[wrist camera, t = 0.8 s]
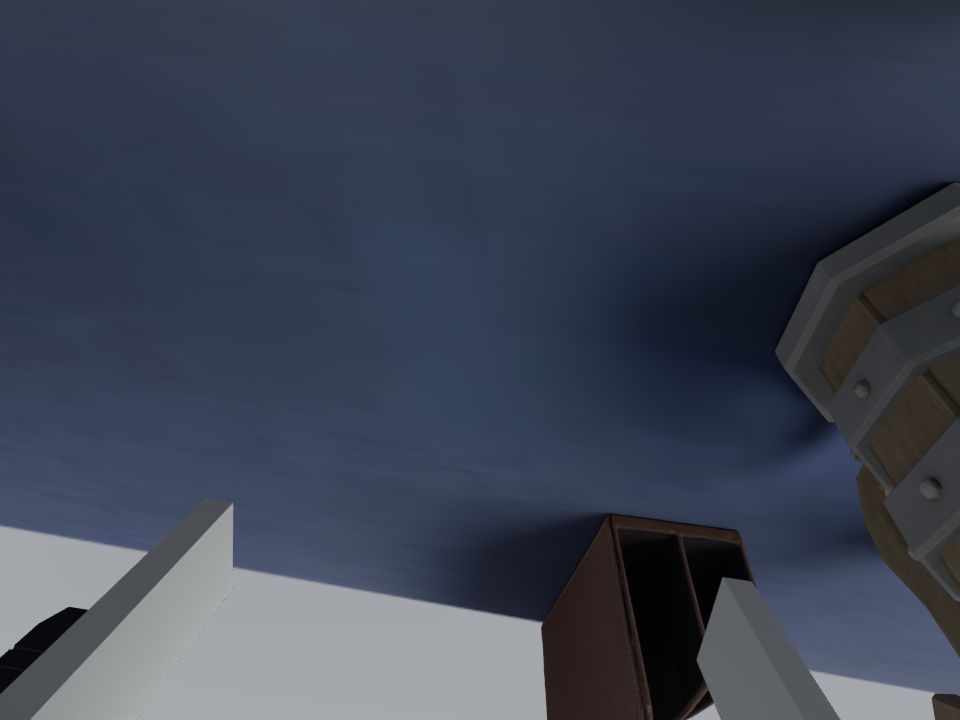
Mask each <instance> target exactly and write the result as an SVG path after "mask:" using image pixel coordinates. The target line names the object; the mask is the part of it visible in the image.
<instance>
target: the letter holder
mask: <svg viewBox="0 0 960 720" xmlns="http://www.w3.org/2000/svg"><path fill="white" fill-rule="evenodd" d="M723 577H724V578H731V579H737V580H744V581H751V582H752V583H753V584H754V586H755V588H756V585H755V582H754V578H753V575H752V572H751V568H750V566H749V563H748V559H747V556H746V553H745V550H744V547H743V543H742V539H741V536H740V534H739V532H738V531H736V530H727V529H720V528H711V527H705V526H697V525H691V524H683V523H675V522H669V521H660V520H654V519H646V518H638V517H631V516H623V515H615V514H608V515H607V516H606V518H605V520H604V521H603V524H602V525H601V527H600V529H599V531H598V533H597V534H596V536H595V538H594V540H593V541H592V543H591V545H590V546H589V548H588V550H587V552H586V553H585V554H584V556H583V558H582V559H581V561H580V563H579V564H578V566H577V567H576V569H575V571H574V572H573V574H572V576H571V577H570V579H569V581H568V582H567V584H566V586H565V587H564V589H563V591H562V592H561V594H560V596H559V598H558V599H557V601H556V603H555V604H554V606H553V608H552V609H551V611H550V613H549V614H548V616H547V618H546V619H545V621H544V623H543V624H542V627H541V631H542V642H543V656H544V676H545V690H546V706H547V720H687V719H689V718H691V717H693V716H695V715H696V714H698V713H700V712H701V711H703V710H704V709H706V708H708V707H709V706H711V705H712V704H713V703H714V701H713V699H712V696H711V694H710V692H709V689H708V687H707V684H706V682H705V679H704V677H703V675H702V672H701V670H700V667H699V665H698V662H697V657H698V654H699V651H700V648H701V645H702V642H703V638H704V635H705V632H706V629H707V626H708V622H709V619H710V616H711V613H712V610H713V607H714V603H715V600H716V597H717V594H718V591H719V587H720V584H721V581H722V578H723ZM756 589H757V588H756Z"/></svg>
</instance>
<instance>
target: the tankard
mask: <svg viewBox="0 0 960 720" xmlns="http://www.w3.org/2000/svg"><path fill="white" fill-rule="evenodd" d="M775 353H776V355H777V357H778V359H779V360H780V362H781V364H782V366H783V368H784V369H785V370H786V372H787V373H788V374H789V375H790V376H791V378H792V379H793V380H794V381H795V382H796V384H797V385H798V386H799V387H800V388H801V390H802V391H803V392H804V393H805V394H806V396H807V397H808V398H809V399H810V400H811V402H812V403H813V404H814V405H815V406H816V408H817V409H818V410H819V411H820V412H821V414H822V415H823V416H824V417H825V418H826V420H827V421H828V422H834V423H836V425H837V427H838V428H839V430H840V432H841V433H842V435H843V437H844V438H845V440H846V442H847V443H848V445H849V446H850V447H851V448H852V449H851V451H850V454H851V457H852V458H853V459H854V460H855V461H858V462H863V463H864V464H863V466H862V468H861V470H860V472H859V474H858V476H857V478H856V480H857V485H858V490H859V495H860V500H861V505H862V510H863V516H864V521H865V525H866V527H867V529H868V531H869V533H870V535H871V537H872V539H873V541H874V543H875V545H876V547H877V549H878V551H879V552H880V554H881V556H882V558H883V560H884V562H885V563H886V564H887V565H888V566H889V568H890V569H891V570H892V571H893V572H894V573H895V574H896V575H897V576H898V577H899V578H900V579H901V580H902V582H903V583H904V584H905V585H906V586H907V587H908V588H909V589H910V590H911V591H912V592H913V593H914V594H915V596H916V597H917V598H918V599H919V600H920V601H921V602H922V603H923V604H924V605H925V606H926V607H927V609H928V610H929V612H930V613H931V615H932V616H933V618H934V619H935V621H936V622H937V624H938V625H939V627H940V628H941V630H942V631H943V633H944V634H945V636H946V637H947V639H948V640H949V642H950V644H951V645H952V647H953V648H954V650H955V651H956V653H957V654H958V656H959V657H960V183H952V184H951V185H949V186H947V187H946V188H944V189H942V190H940V191H939V192H937V193H935V194H934V195H932V196H930V197H928V198H927V199H925V200H923V201H922V202H920V203H918V204H917V205H915V206H913V207H911V208H910V209H908V210H906V211H905V212H903V213H901V214H899V215H898V216H896V217H894V218H893V219H891V220H889V221H887V222H886V223H884V224H882V225H881V226H879V227H877V228H875V229H874V230H872V231H870V232H869V233H867V234H865V235H864V236H862V237H860V238H858V239H857V240H855V241H853V242H852V243H850V244H848V245H846V246H845V247H843V248H841V249H840V250H838V251H836V252H834V253H833V254H831V255H829V256H828V257H826V258H824V259H823V260H821V261H819V262H818V263H817V265H816V267H815V269H814V271H813V273H812V276H811V278H810V280H809V282H808V284H807V286H806V288H805V290H804V292H803V294H802V296H801V298H800V300H799V302H798V304H797V306H796V309H795V311H794V313H793V315H792V317H791V319H790V321H789V323H788V325H787V327H786V329H785V331H784V333H783V335H782V337H781V339H780V342H779V344H778V346H777V348H776V350H775ZM932 703H933V709H934V715H935V720H960V696H958V695H956V694H936V693H935V695H934V696H933V697H932Z"/></svg>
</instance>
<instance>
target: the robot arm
mask: <svg viewBox="0 0 960 720" xmlns="http://www.w3.org/2000/svg"><path fill="white" fill-rule="evenodd" d="M232 580H233V503H230V502H224V501H217V500H210V499H204V500H203V501H202V502H201V503H200V504H199V505H198V506H197V507H196V508H195V509H194V510H193V511H191V512H190V513H189V514H188V515H187V516H186V517H185V518H184V519H183V520H182V521H181V522H180V523H179V524H178V525H177V526H176V527H175V528H174V529H173V530H172V531H171V532H169V533H168V534H167V535H166V536H165V537H164V538H163V539H162V540H161V541H160V542H159V543H158V544H157V545H156V546H155V547H154V548H153V549H152V550H151V551H150V552H149V553H148V554H146V555H145V556H144V557H143V559H142V560H140V561H139V562H138V563H137V564H136V565H135V566H134V567H133V568H132V569H131V570H130V571H129V572H128V573H127V574H126V575H125V576H124V577H122V578H121V579H120V580H119V581H118V582H117V583H116V584H115V585H114V586H113V587H112V588H111V589H110V590H109V591H108V592H107V593H106V594H105V595H104V596H103V597H102V598H100V599H99V600H98V601H97V602H96V603H95V604H94V605H93V606H92V607H91V608H90V609H89V610H86V609H79V608H73V607H68V608H66V609H64V610H62V611H61V612H59V613H57V614H55V615H53V616H52V617H50V618H48V619H46V620H44V621H43V622H41V623H39V624H38V625H37V626H35V627H34V628H33V629H32V630H31V631H30V632H29V633H28V634H27V635H25V636H24V637H23V638H22V639H21V640H20V641H19V642H17V643H16V644H15V645H14V648H13V649H12V650H10V649H9V650H8V651H7V652H6V653H5V654H4V655H3V656H2V657H0V720H137V719H138V718H139V717H140V715H141V714H142V712H143V711H144V710H145V708H146V707H147V705H148V704H149V703H150V701H151V700H152V699H153V697H154V696H155V694H156V693H157V691H158V690H159V689H160V688H161V686H162V685H163V683H164V682H165V681H166V679H167V678H168V677H169V675H170V674H171V673H172V671H173V670H174V668H175V667H176V666H177V664H178V663H179V661H180V660H181V659H182V657H183V656H184V655H185V653H186V652H187V651H188V649H189V648H190V646H191V645H192V644H193V642H194V641H195V640H196V638H197V637H198V635H199V634H200V633H201V631H202V630H203V629H204V627H205V626H206V624H207V623H208V622H209V620H210V619H211V618H212V616H213V614H214V613H215V612H216V611H217V609H218V608H219V606H220V605H221V604H222V602H223V601H224V600H225V598H226V597H227V596H228V594H229V593H230V591H231V590H232V587H233V586H232V585H233V581H232ZM697 662H698V665H699V667H700V670H701V672H702V675H703V677H704V679H705V682H706V684H707V687H708V689H709V692H710V694H711V696H712V699H713V701H714V704H715V706H716V708H717V711H718V714H719V716H720V718H721V720H840V718H839V717H838V715H837V714H836V712H835V711H834V709H833V707H832V706H831V704H830V703H829V701H828V700H827V698H826V697H825V695H824V693H823V692H822V690H821V689H820V687H819V686H818V684H817V683H816V681H815V680H814V678H813V676H812V675H811V673H810V672H809V670H808V669H807V667H806V665H805V664H804V662H803V661H802V659H801V658H800V656H799V655H798V653H797V651H796V650H795V648H794V647H793V645H792V644H791V642H790V641H789V639H788V637H787V636H786V634H785V633H784V631H783V630H782V628H781V627H780V625H779V623H778V622H777V620H776V619H775V617H774V616H773V614H772V612H771V611H770V609H769V608H768V606H767V605H766V603H765V602H764V600H763V598H762V597H761V595H760V594H759V592H758V591H757V589H756V588H755V586H754V584H753V583H752V582H751V581H744V580H737V579H731V578H724V577H723V578H722V581H721V584H720V587H719V591H718V594H717V597H716V600H715V603H714V607H713V610H712V613H711V616H710V619H709V622H708V626H707V629H706V632H705V635H704V638H703V642H702V645H701V648H700V651H699V654H698V657H697Z"/></svg>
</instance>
